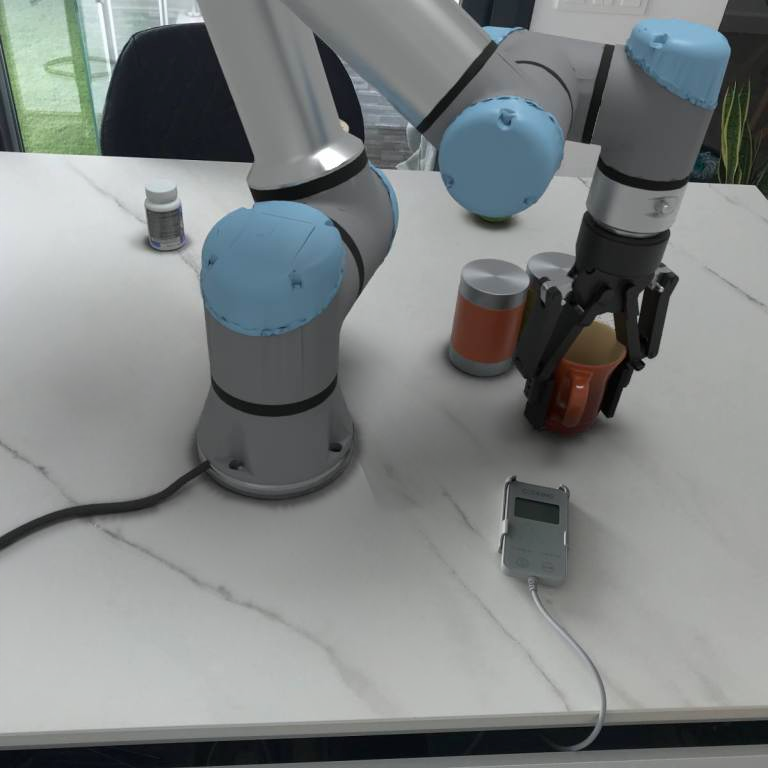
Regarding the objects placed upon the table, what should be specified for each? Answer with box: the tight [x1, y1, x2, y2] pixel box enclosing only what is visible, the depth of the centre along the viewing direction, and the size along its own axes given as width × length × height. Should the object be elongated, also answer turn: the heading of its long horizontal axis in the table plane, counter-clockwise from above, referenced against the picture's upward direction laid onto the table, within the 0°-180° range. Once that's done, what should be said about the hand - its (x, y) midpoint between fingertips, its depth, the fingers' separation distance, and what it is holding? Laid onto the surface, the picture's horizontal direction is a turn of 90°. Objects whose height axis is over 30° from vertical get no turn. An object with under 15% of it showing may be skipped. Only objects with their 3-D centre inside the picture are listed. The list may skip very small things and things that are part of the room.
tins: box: [448, 251, 584, 377], centre depth 88 cm, size 16×8×11 cm, turn 108°
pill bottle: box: [143, 178, 186, 251], centre depth 103 cm, size 5×5×8 cm
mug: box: [542, 318, 627, 436], centre depth 79 cm, size 12×9×10 cm
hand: (568, 415), depth 81 cm, fingers closed on mug, 8 cm apart
